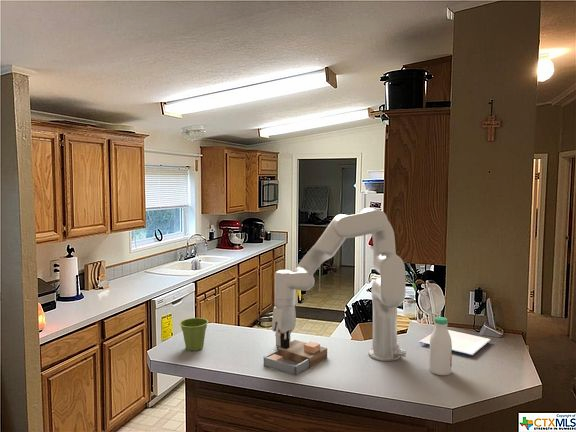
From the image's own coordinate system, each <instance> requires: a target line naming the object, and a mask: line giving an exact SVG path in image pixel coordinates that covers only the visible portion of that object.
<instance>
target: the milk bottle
mask: <svg viewBox="0 0 576 432" xmlns="http://www.w3.org/2000/svg"><path fill="white" fill-rule="evenodd" d="M448 323H449V321H448V318H447V317H443V316H435V317H434V329H433V330H432V332H431V337H430V345H429V350H428V352H429V354H428V355H429V358H428V362H429V363H428V369H429V371H430V373H432V374H434V375H437V376H448V375H451V373H452V352H453V351H452V341H451V337H450V334H449V332H448V330H449V329H448Z"/></svg>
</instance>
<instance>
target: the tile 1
mask: <svg viewBox="0 0 576 432" xmlns="http://www.w3.org/2000/svg"><path fill="white" fill-rule="evenodd" d="M268 358H271V359H275V360H278V361H281V362H283V356H279V355H276V354H273V355H271V356H269V357H268Z"/></svg>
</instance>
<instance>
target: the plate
mask: <svg viewBox="0 0 576 432" xmlns="http://www.w3.org/2000/svg"><path fill="white" fill-rule="evenodd" d="M448 332H449V334H450V337H451V341H452V352H456V353H461V354H465V355H468V356H474V355H475V354H476V353H477V352H478V351H480V349H481V348H483V347H484V346H486V345H487V344H488V343H490V341H491V338H487V337H484V336H483V337H482V336H478V335H473V334H469V333H464V332H460V331H454V330H452V329H451V330H450V329H448ZM431 334H432V333H431ZM431 334H429V335H428V336H426V337H424V338H423V339H421V340H419V341H418V342H420V344H424V345H429V346H430V337H431Z"/></svg>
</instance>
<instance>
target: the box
mask: <svg viewBox="0 0 576 432" xmlns="http://www.w3.org/2000/svg"><path fill="white" fill-rule="evenodd" d="M273 354H276V355H279V350H277V349H276V350H275V351H273V352H270V353H268V354H266V355H265V356H263V367H265V368H269V369H272V370H276V371H279V372H282V373H285V374H288V375H291V376H294V377H297V376H298V375H300V374H301V373H302V374H303V372H305V371H307V370H308V369H310V368H309V359H307V360H305V361H303V362H301V363H296V362H292V361H289V360H286V359H283V362H281V361H278V360H275V359H271V358H268V357H269V356H271V355H273Z"/></svg>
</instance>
